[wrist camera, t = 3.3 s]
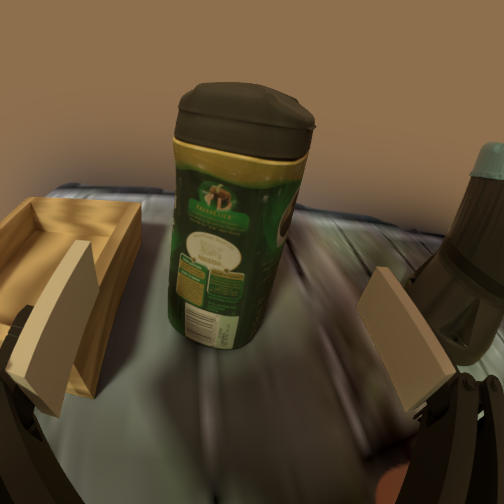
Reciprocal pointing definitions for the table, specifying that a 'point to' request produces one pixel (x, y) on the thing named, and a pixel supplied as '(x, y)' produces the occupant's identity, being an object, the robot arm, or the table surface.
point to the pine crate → (51, 254)
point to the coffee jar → (232, 206)
